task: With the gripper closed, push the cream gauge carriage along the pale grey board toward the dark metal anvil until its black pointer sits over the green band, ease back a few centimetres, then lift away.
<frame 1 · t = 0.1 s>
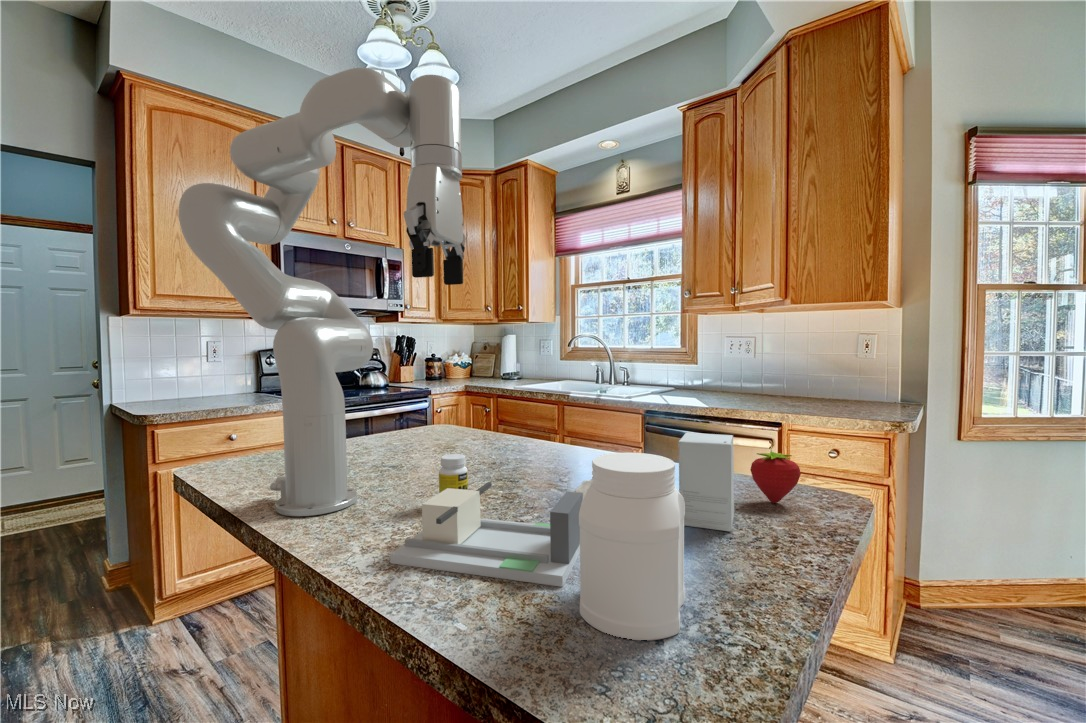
hand: (439, 280, 74), 37 cm above the countertop, tool pointing down, fingers open, 9 cm apart
washcloth: (611, 507, 82), on the countertop
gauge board: (494, 549, 64), on the countertop
gauge carriage: (452, 515, 66), point 4 cm above the countertop, slide at 0.0 cm
supplement box: (707, 521, 73), on the countertop
supplement bottle: (453, 507, 81), on the countertop
strawberry: (774, 504, 81), on the countertop
jar: (633, 609, 50), on the countertop
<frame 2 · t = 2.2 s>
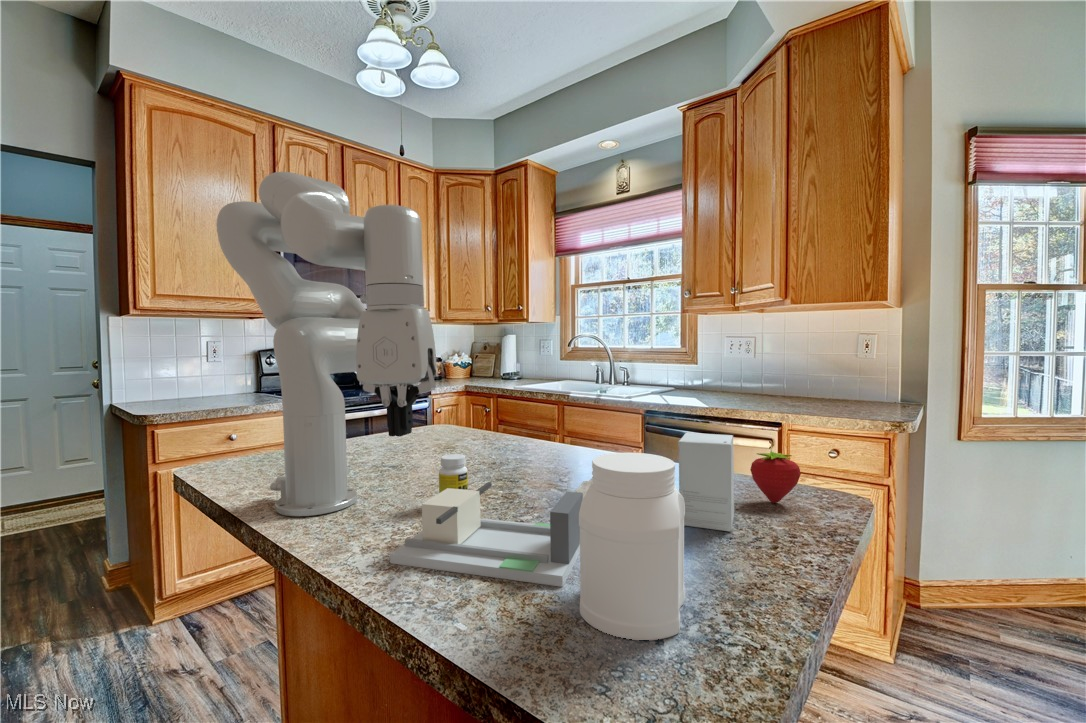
hand: (400, 434, 67), 15 cm above the countertop, tool pointing down, fingers closed
nothing on the countertop moved.
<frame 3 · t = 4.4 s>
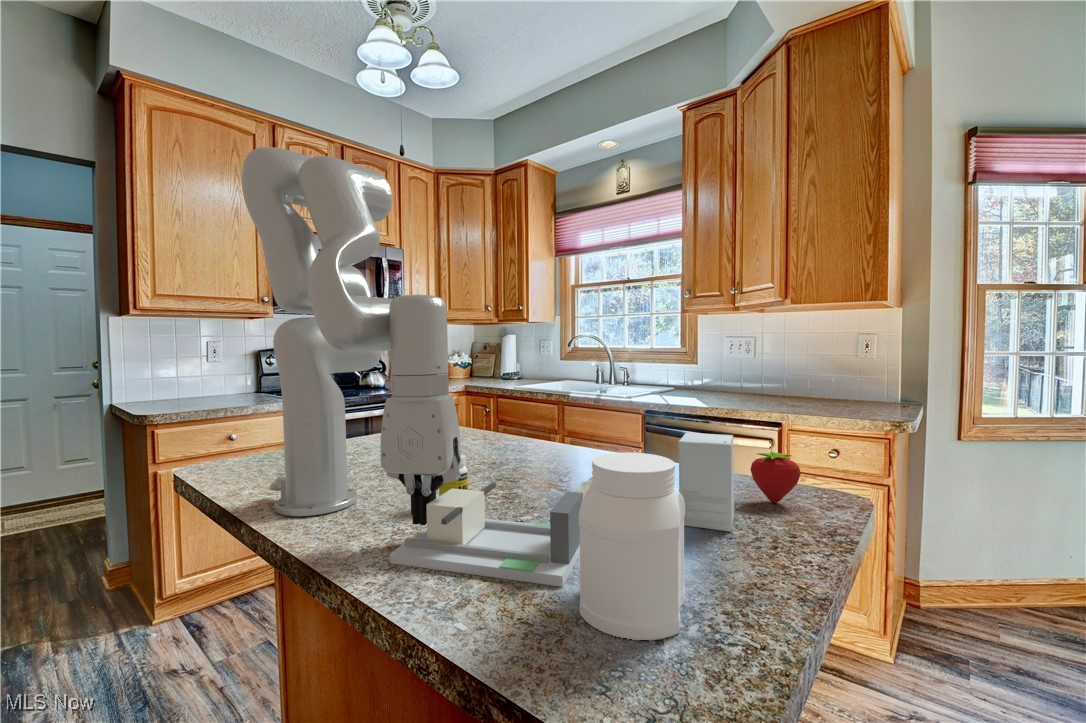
hand: (424, 521, 67), 3 cm above the countertop, tool pointing down, fingers closed
gauge carriage: (457, 516, 65), point 4 cm above the countertop, slide at 0.7 cm, touching gripper
everything else where it was.
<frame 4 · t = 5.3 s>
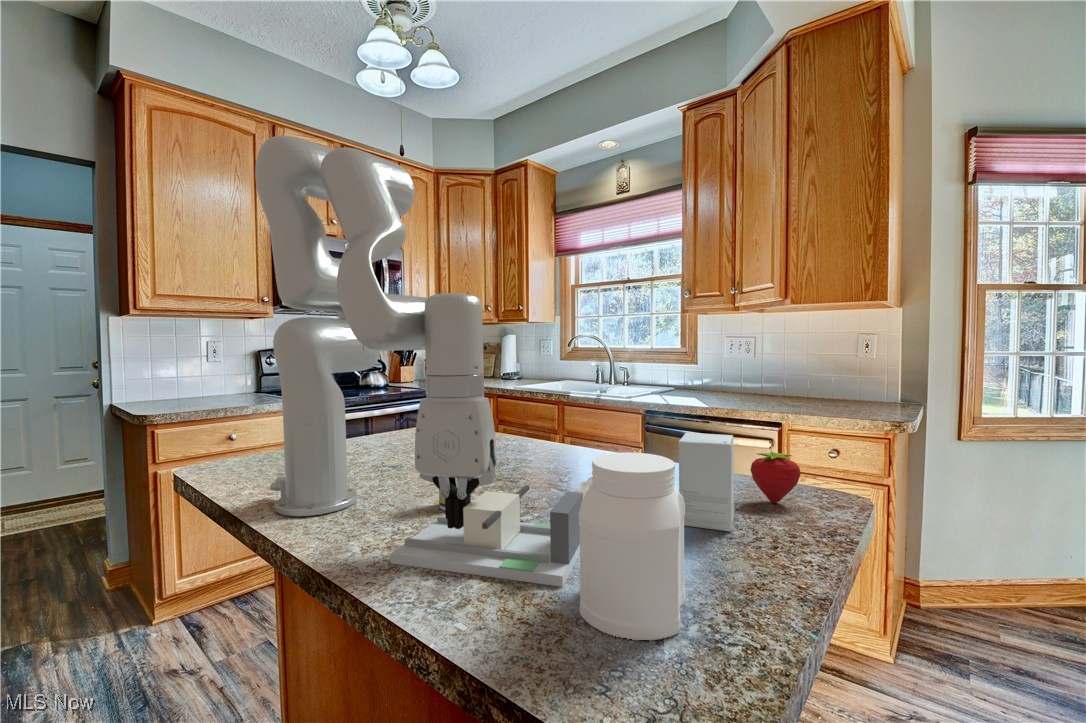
hand: (458, 524, 65), 3 cm above the countertop, tool pointing down, fingers closed
gauge carriage: (492, 519, 64), point 4 cm above the countertop, slide at 5.9 cm, touching gripper
everything else where it was.
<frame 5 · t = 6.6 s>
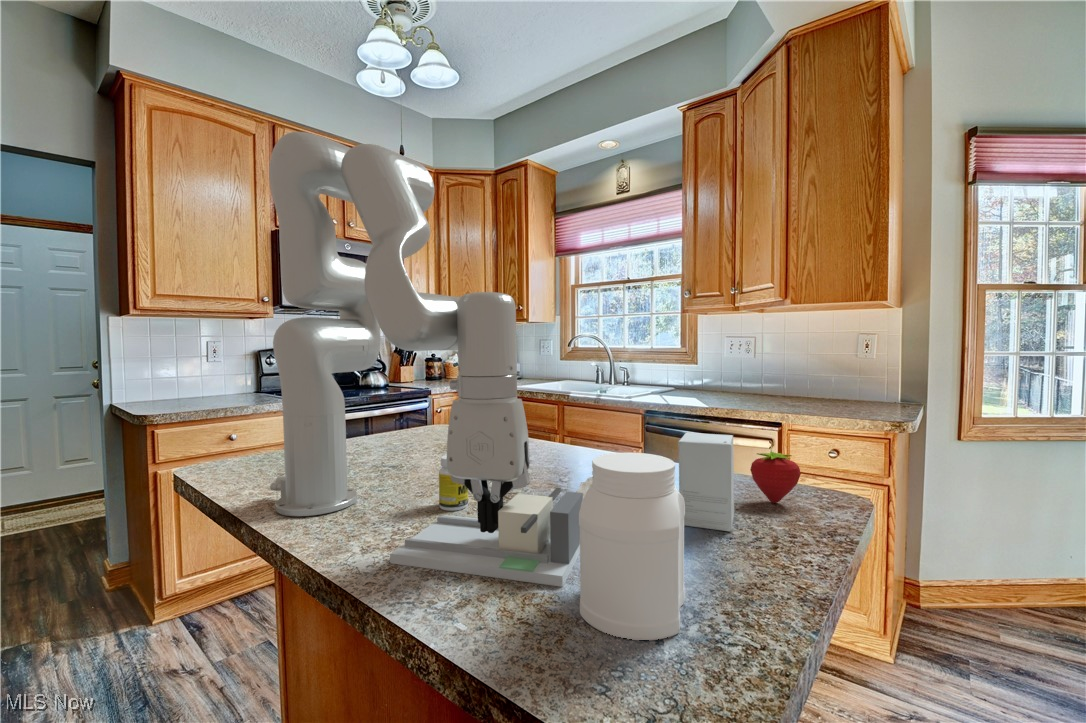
hand: (490, 528, 64), 3 cm above the countertop, tool pointing down, fingers closed
gauge carriage: (526, 523, 62), point 4 cm above the countertop, slide at 10.5 cm, touching gripper
everything else where it was.
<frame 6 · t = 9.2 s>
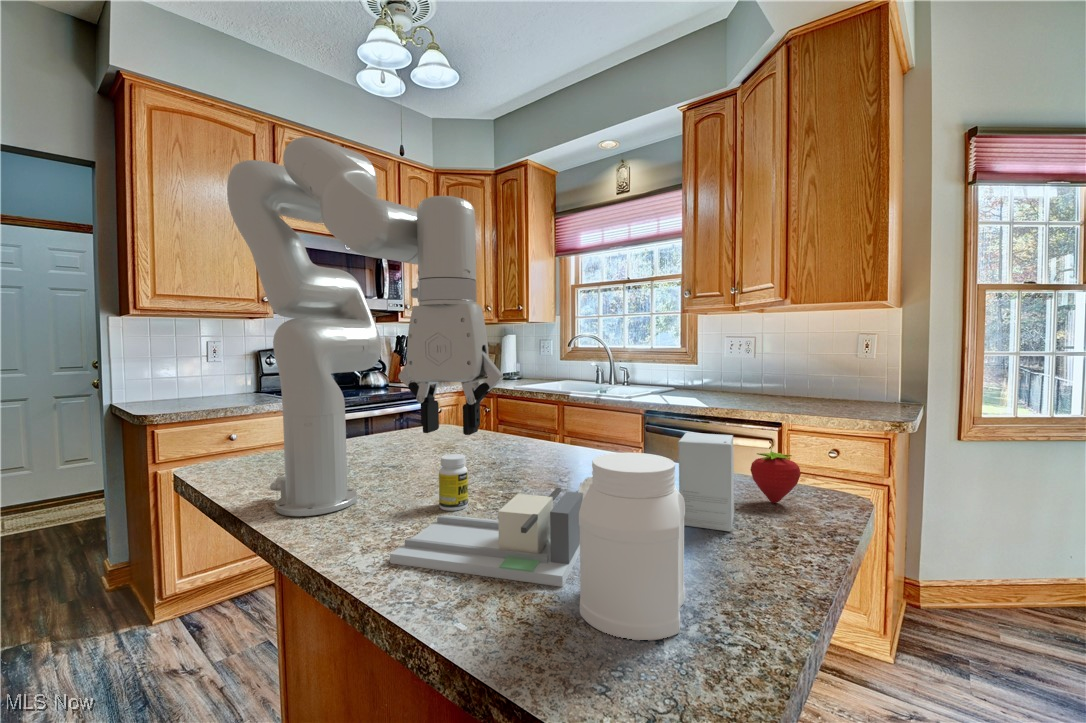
hand: (450, 430, 65), 15 cm above the countertop, tool pointing down, fingers open, 5 cm apart
gauge carriage: (527, 523, 62), point 4 cm above the countertop, slide at 10.6 cm
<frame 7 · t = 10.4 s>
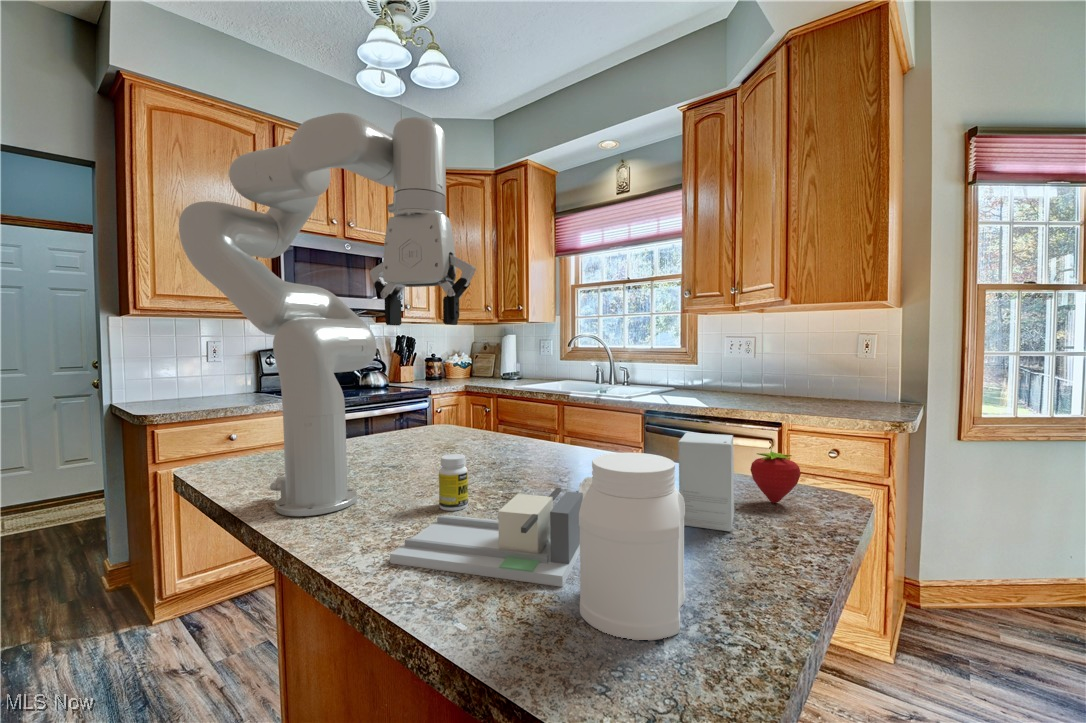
hand: (421, 324, 73), 30 cm above the countertop, tool pointing down, fingers open, 9 cm apart
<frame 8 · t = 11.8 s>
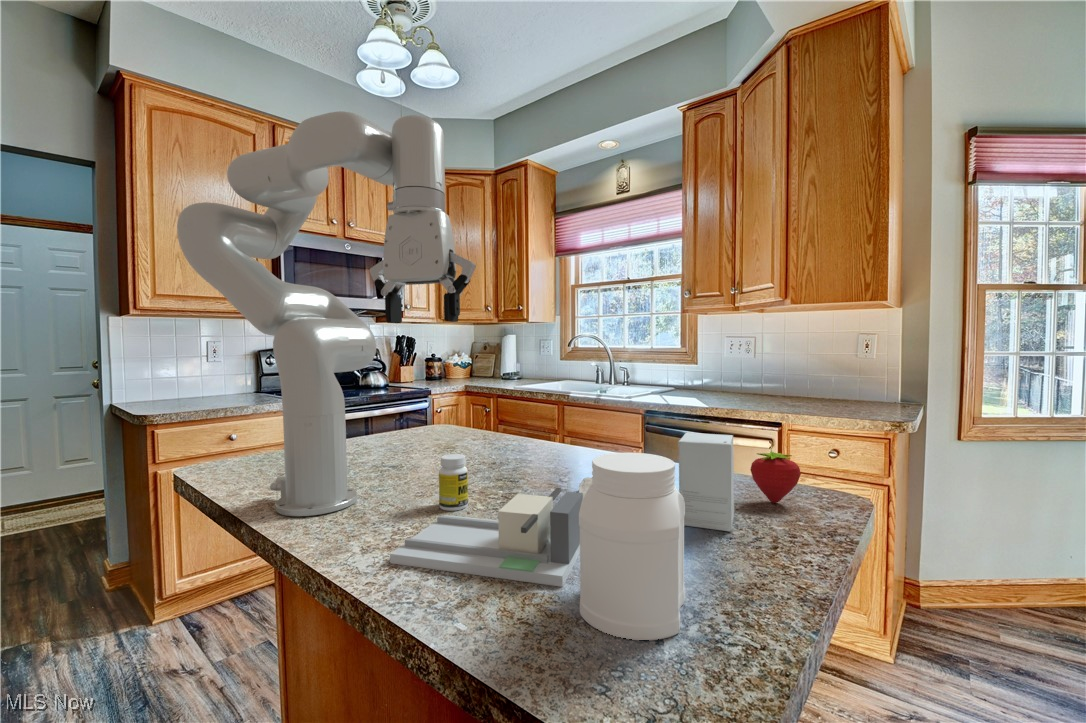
hand: (422, 322, 73), 30 cm above the countertop, tool pointing down, fingers open, 9 cm apart
at the end: gauge carriage slide at 10.6 cm; gauge carriage touching nothing; the gripper is holding nothing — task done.
